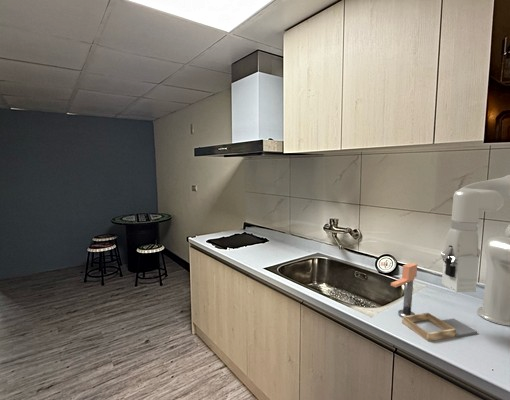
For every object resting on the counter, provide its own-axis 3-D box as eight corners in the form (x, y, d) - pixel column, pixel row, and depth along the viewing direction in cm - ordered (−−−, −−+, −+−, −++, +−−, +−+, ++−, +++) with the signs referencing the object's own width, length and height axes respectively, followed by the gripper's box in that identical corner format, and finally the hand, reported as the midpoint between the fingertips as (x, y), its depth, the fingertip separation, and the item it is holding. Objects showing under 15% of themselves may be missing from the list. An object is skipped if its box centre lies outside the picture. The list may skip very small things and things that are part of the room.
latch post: (407, 310, 116) (409, 276, 115) (419, 318, 111) (421, 282, 109) (394, 312, 115) (396, 277, 113) (406, 320, 109) (408, 283, 108)
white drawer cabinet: (459, 283, 106) (463, 250, 105) (476, 292, 99) (480, 256, 97) (440, 284, 106) (443, 250, 104) (455, 292, 98) (459, 256, 97)
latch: (416, 279, 112) (417, 264, 111) (396, 287, 104) (397, 271, 103) (410, 277, 114) (411, 262, 113) (390, 285, 106) (391, 269, 105)
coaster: (453, 320, 109) (453, 318, 109) (477, 333, 101) (477, 331, 101) (434, 323, 107) (434, 321, 107) (456, 337, 98) (456, 335, 98)
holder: (427, 318, 110) (428, 312, 110) (455, 336, 99) (456, 329, 99) (402, 322, 107) (402, 316, 107) (428, 341, 96) (428, 334, 96)
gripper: (473, 222, 105) (468, 269, 107) (434, 225, 101) (430, 273, 103) (494, 227, 98) (489, 276, 100) (453, 229, 94) (449, 281, 96)
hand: (459, 274), depth 101 cm, fingers closed on white drawer cabinet, 8 cm apart
